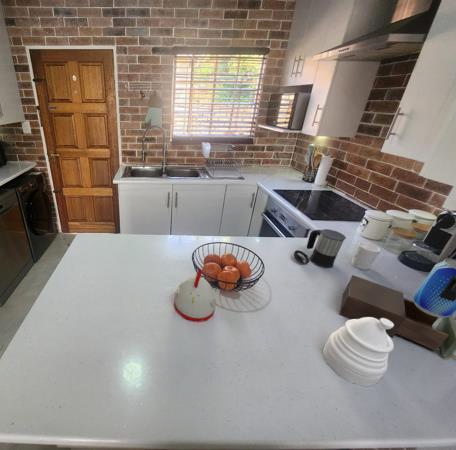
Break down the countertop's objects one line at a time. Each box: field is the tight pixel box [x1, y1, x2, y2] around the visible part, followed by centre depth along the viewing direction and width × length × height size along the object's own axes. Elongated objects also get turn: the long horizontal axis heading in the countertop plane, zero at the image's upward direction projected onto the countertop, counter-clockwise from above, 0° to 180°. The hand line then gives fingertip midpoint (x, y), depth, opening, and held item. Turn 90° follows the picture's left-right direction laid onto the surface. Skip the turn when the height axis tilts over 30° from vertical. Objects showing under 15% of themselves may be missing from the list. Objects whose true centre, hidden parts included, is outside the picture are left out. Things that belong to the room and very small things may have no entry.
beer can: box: [412, 258, 456, 319], centre depth 71 cm, size 8×8×16 cm
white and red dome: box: [173, 269, 216, 323], centre depth 82 cm, size 14×14×15 cm
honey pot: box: [322, 317, 395, 388], centre depth 65 cm, size 13×13×18 cm
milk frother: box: [293, 228, 347, 269], centre depth 110 cm, size 14×16×15 cm
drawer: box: [395, 297, 456, 359], centre depth 75 cm, size 19×13×7 cm
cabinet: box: [338, 274, 406, 339], centre depth 84 cm, size 14×15×9 cm
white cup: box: [350, 241, 381, 271], centre depth 110 cm, size 8×8×10 cm
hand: (443, 290), depth 71 cm, fingers closed on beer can, 8 cm apart
